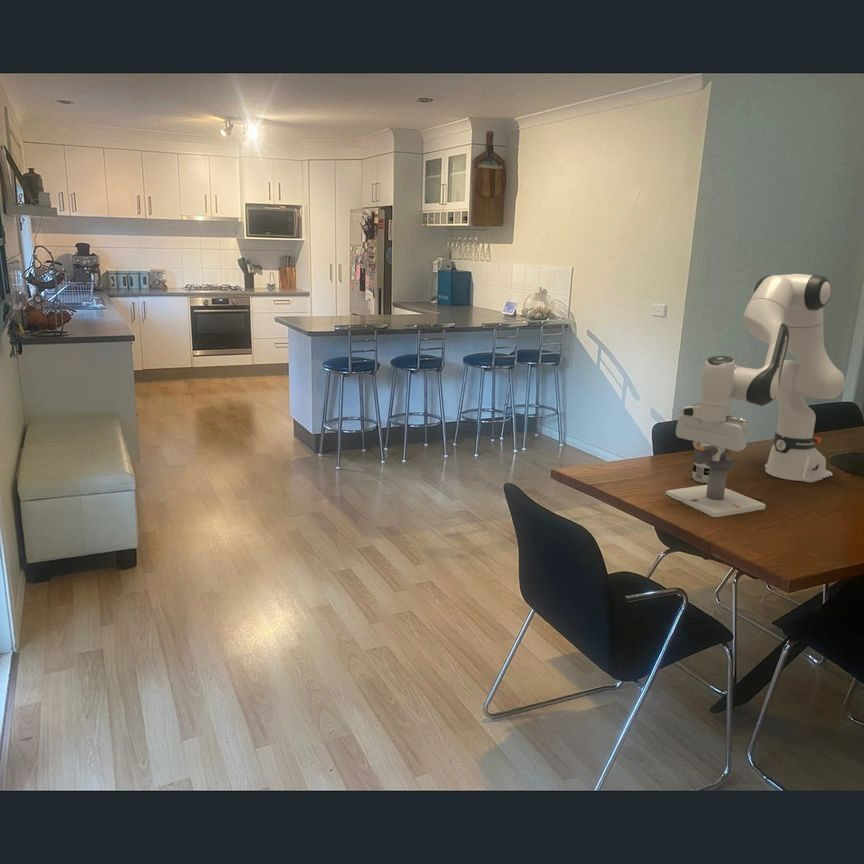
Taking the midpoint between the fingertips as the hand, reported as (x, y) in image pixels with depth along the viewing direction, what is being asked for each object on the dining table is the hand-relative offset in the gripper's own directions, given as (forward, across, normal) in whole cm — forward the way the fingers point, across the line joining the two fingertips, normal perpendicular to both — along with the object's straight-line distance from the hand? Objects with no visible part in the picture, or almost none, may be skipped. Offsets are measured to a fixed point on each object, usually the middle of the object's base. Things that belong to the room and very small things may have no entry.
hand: (707, 458), depth 206 cm
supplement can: (+15, +12, -24) cm, 31 cm away
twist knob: (+3, 0, -3) cm, 5 cm away
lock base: (+15, -1, -6) cm, 16 cm away
